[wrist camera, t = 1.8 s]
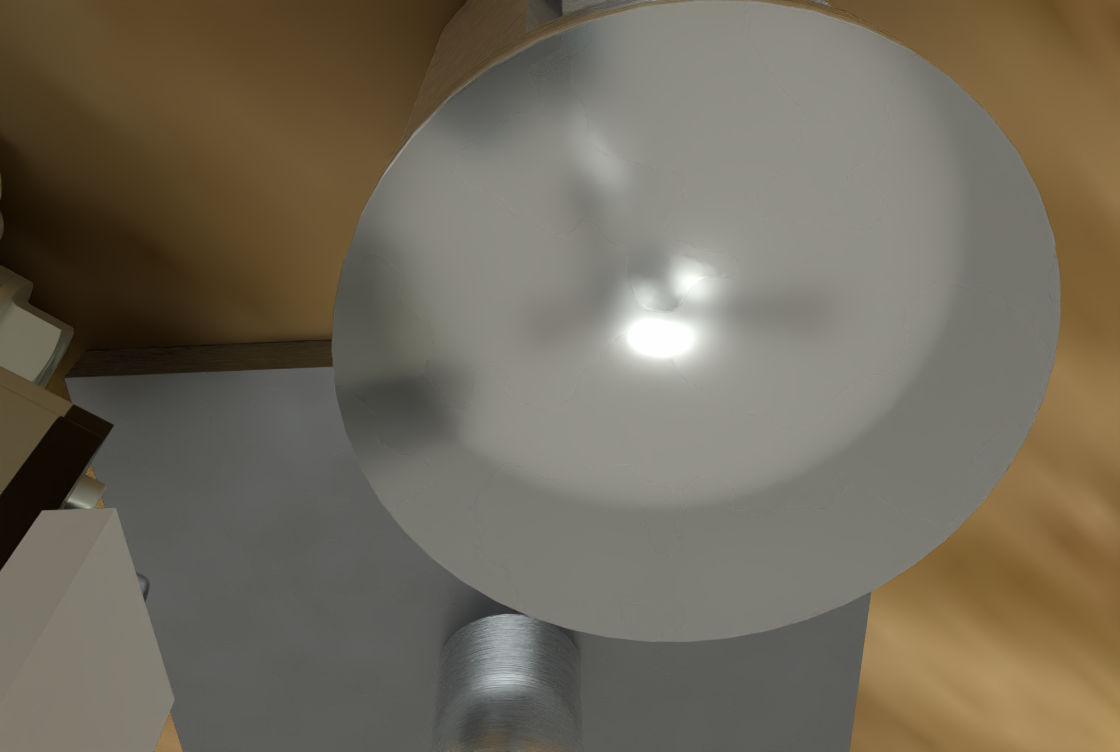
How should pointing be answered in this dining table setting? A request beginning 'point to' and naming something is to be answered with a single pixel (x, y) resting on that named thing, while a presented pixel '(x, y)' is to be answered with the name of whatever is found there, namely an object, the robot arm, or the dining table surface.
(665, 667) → the grey metal plate
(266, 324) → the dining table surface
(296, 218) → the dining table surface
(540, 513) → the grey metal fitting
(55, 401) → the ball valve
